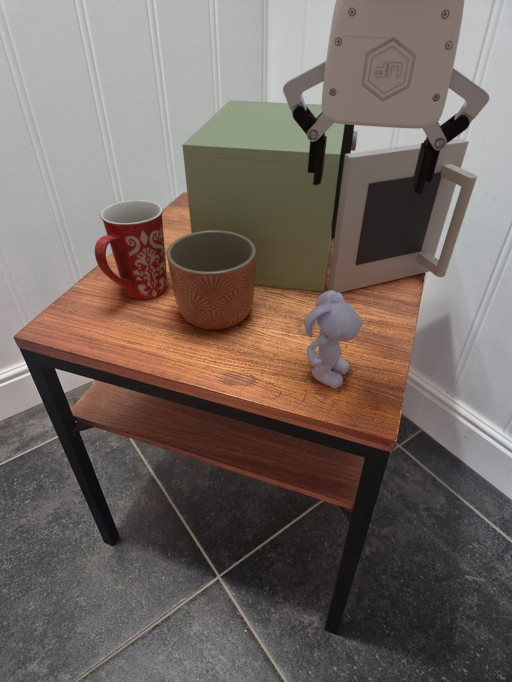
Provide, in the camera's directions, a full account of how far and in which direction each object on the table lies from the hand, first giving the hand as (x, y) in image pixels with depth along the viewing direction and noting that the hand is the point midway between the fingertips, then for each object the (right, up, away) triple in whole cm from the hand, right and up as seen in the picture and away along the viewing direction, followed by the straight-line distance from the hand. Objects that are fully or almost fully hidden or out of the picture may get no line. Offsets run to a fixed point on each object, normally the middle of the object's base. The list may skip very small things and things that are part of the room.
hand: (366, 184), depth 43 cm
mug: (-30, -8, +29) cm, 43 cm away
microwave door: (+11, -7, +30) cm, 33 cm away
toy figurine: (-1, -20, +15) cm, 25 cm away
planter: (-17, -11, +25) cm, 32 cm away
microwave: (-7, +3, +41) cm, 42 cm away
